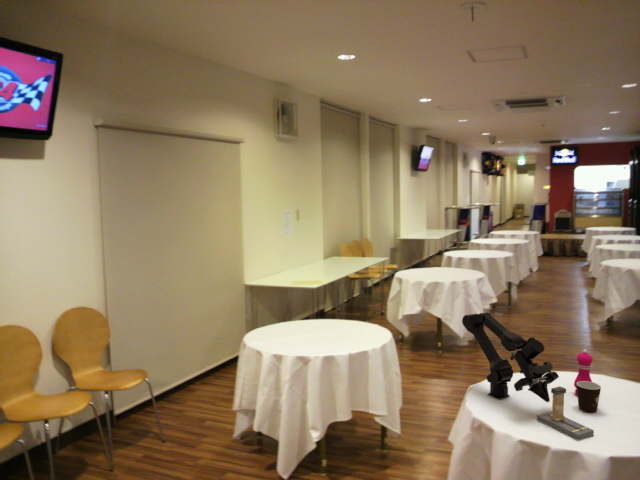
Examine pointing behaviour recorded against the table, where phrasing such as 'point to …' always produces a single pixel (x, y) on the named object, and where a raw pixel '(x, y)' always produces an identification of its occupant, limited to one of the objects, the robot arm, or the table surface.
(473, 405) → the table surface
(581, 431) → the fader console
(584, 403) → the coffee mug
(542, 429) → the table surface
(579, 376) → the pepper mill
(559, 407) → the fader lever
